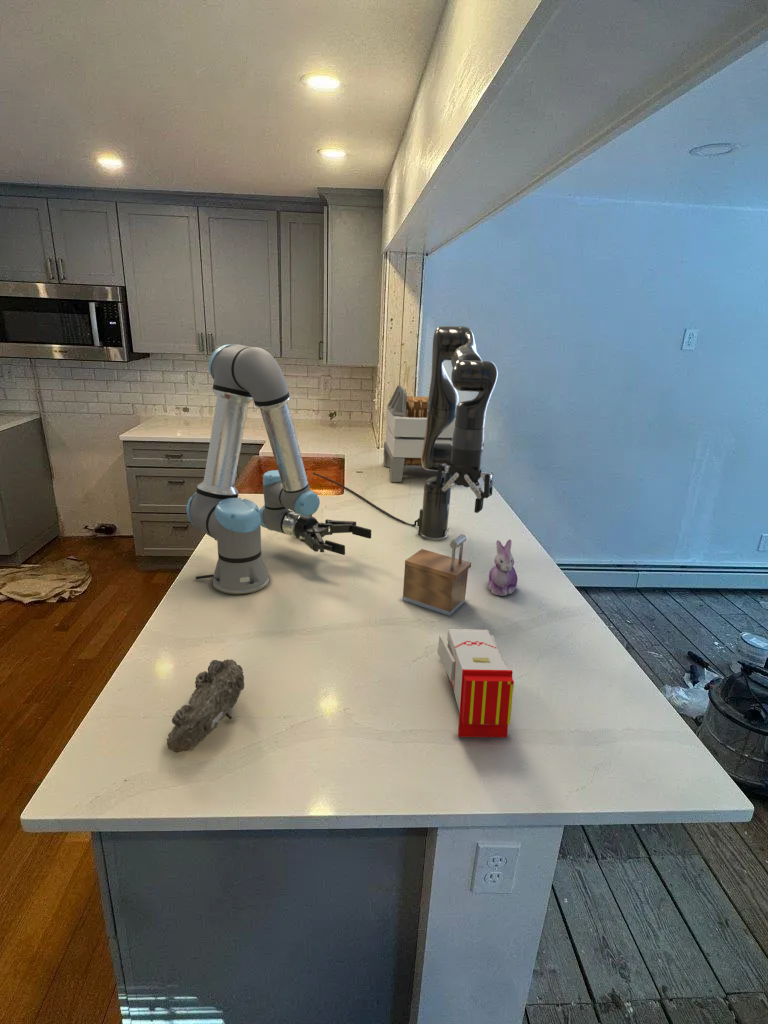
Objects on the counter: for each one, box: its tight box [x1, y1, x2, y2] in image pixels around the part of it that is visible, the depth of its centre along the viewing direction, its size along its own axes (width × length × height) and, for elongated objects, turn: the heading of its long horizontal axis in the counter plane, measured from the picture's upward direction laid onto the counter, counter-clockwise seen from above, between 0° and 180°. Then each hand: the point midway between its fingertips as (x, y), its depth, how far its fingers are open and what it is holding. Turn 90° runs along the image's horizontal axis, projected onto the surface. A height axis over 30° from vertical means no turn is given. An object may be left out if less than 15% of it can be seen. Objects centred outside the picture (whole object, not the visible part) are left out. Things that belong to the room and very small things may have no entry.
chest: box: [402, 564, 469, 617], centre depth 153 cm, size 14×10×11 cm
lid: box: [404, 533, 472, 580], centre depth 150 cm, size 15×10×9 cm, turn 58°
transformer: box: [383, 384, 460, 483], centre depth 268 cm, size 34×33×41 cm
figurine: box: [487, 538, 518, 597], centre depth 160 cm, size 9×10×15 cm
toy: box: [437, 628, 515, 738], centre depth 117 cm, size 12×13×30 cm
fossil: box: [166, 658, 245, 754], centre depth 106 cm, size 22×10×15 cm
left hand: (358, 542), depth 165 cm, fingers open, 13 cm apart
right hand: (461, 508), depth 143 cm, fingers open, 8 cm apart
